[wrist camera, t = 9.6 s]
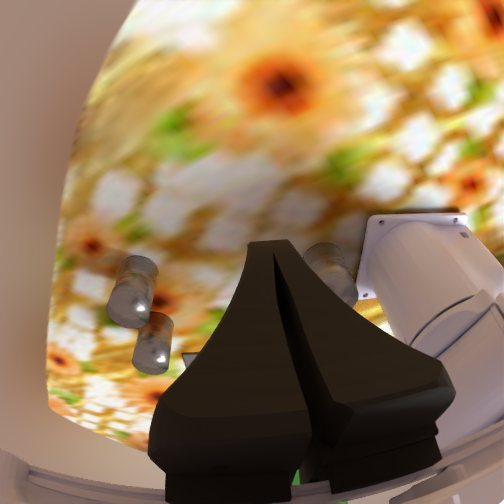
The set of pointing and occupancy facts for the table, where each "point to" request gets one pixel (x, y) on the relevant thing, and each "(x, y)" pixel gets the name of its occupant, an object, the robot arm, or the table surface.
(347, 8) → the table surface
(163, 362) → the set of grey cylinders
